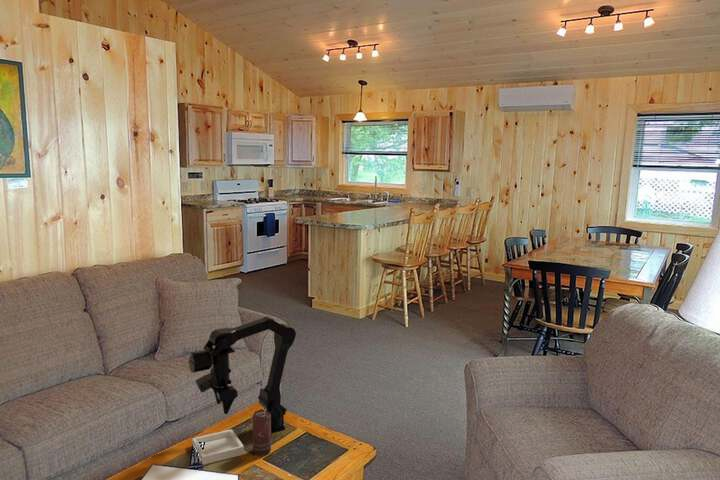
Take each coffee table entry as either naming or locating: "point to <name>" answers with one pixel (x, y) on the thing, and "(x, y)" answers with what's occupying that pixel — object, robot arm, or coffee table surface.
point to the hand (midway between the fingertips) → (222, 408)
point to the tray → (218, 446)
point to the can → (261, 432)
